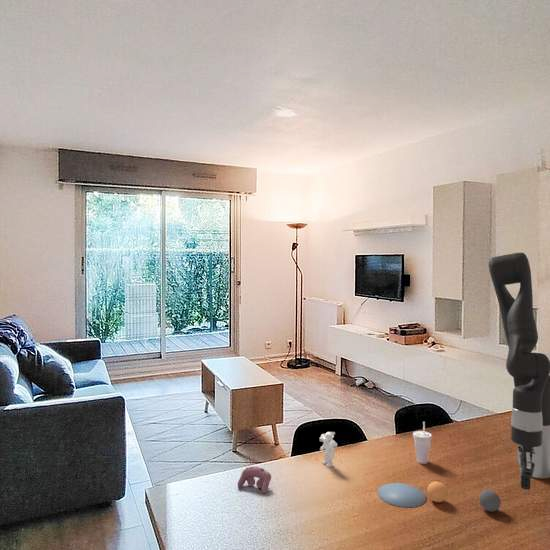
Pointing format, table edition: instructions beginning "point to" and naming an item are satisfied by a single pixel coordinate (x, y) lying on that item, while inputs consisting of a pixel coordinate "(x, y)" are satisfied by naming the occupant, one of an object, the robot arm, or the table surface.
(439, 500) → the object ball
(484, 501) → the grey ball
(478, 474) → the table surface
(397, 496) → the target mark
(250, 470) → the red animal figurine
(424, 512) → the table surface
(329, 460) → the white humanoid figurine
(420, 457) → the smoothie
